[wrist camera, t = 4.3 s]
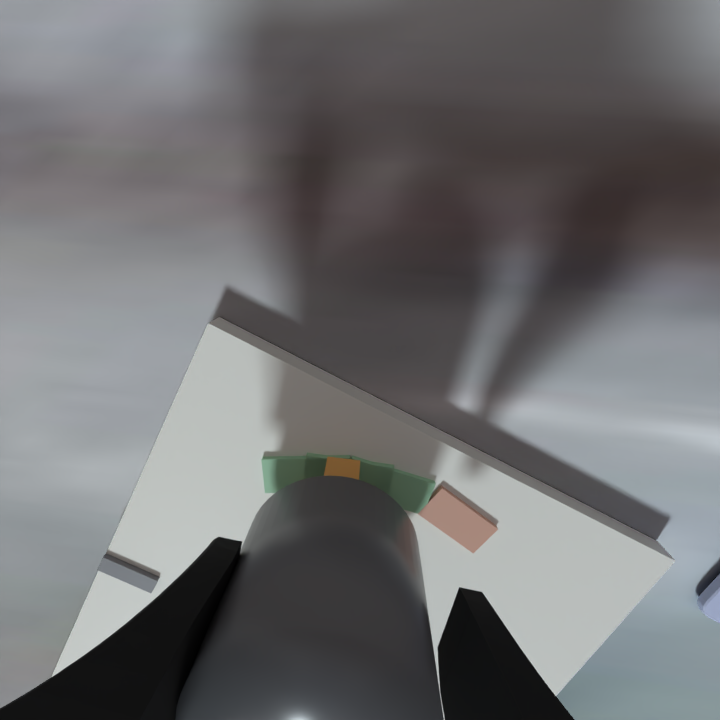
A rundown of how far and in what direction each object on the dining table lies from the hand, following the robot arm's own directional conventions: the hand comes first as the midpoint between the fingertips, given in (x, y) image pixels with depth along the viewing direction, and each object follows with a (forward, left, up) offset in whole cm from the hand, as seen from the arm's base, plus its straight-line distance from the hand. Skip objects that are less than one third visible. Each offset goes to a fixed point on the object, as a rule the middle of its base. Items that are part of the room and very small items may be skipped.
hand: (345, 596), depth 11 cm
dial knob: (-1, +3, -3) cm, 4 cm away
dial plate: (-2, +6, -5) cm, 8 cm away
